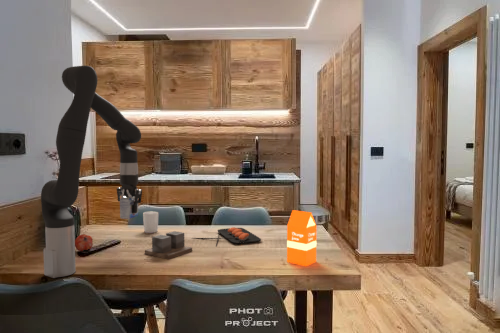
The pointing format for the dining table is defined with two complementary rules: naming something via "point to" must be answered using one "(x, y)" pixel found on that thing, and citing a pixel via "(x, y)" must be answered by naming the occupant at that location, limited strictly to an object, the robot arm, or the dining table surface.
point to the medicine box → (127, 208)
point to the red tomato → (83, 242)
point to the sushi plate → (236, 235)
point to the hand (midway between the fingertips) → (129, 212)
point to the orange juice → (301, 238)
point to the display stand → (168, 245)
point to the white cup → (150, 221)
